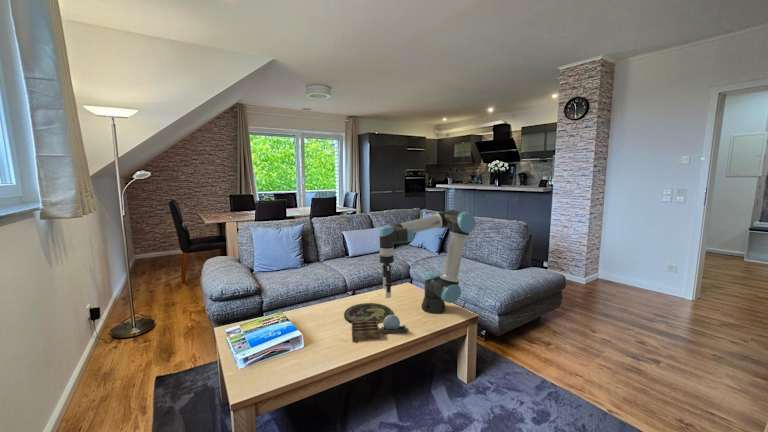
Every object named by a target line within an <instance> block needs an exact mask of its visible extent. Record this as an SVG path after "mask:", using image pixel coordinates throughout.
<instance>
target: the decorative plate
mask: <svg viewBox="0 0 768 432" xmlns="http://www.w3.org/2000/svg"><path fill="white" fill-rule="evenodd" d="M388 315H394V313H393V310H392V309H391V308H390V307H389V306H387V305H384V304H380V303H374V302H365V303H357V304H354V305H351V306H350V307H348V308H347V309H346V310H345V311H344V313H343V318H344V320H345V321H346V322H348V323H349V324H352V322H366V321H377V323H378V324H383V321H384V319H385V317H387V316H388Z"/></svg>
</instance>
